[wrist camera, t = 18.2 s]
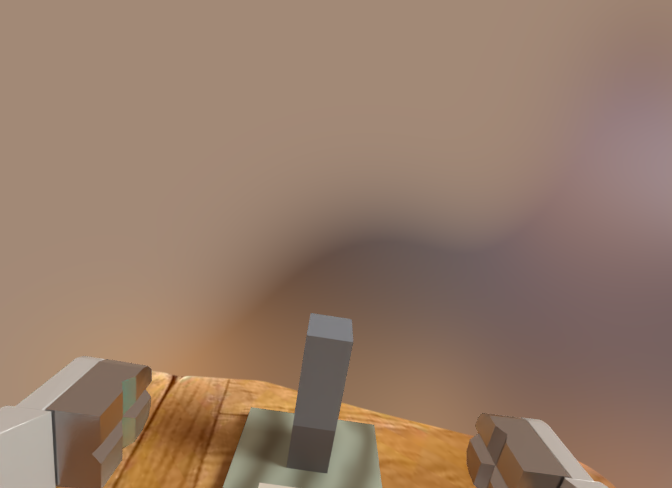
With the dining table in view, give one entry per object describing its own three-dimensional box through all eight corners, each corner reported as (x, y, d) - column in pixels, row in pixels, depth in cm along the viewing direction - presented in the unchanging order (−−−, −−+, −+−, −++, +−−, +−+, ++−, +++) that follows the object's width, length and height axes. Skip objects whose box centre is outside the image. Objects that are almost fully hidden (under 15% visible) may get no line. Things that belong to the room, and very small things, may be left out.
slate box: (286, 467, 43) (306, 335, 38) (292, 433, 48) (311, 313, 43) (327, 473, 43) (353, 342, 38) (328, 438, 48) (351, 319, 43)
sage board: (221, 496, 40) (222, 487, 39) (250, 415, 52) (251, 407, 52) (382, 518, 40) (384, 509, 40) (372, 432, 53) (374, 424, 52)
